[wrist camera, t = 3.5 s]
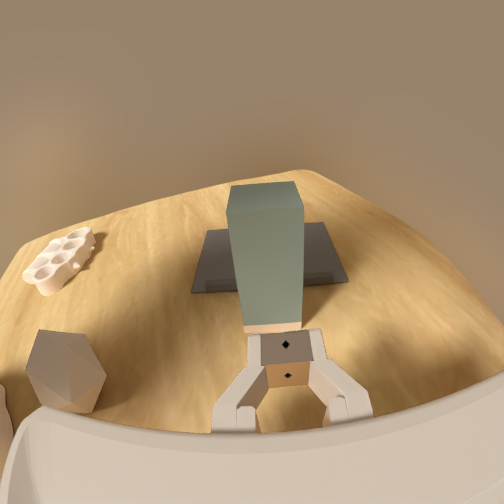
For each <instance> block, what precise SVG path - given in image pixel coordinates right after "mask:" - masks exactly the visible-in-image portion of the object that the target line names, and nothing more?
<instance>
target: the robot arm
mask: <svg viewBox="0 0 504 504" xmlns="http://www.w3.org/2000/svg"><path fill="white" fill-rule="evenodd" d="M298 385H308V386H309V387H310V388H311V389H312V391H313V392H314V393H315V394H316V395H317V396H318V398H319V399H320V400H321V401H322V402H323V403H324V405H325V406H326V407H327V408H326V412H325V415H324V419H323V422H322V428H314V429H306V430H297V431H287V432H274V433H261V429H260V426H259V422H258V418H257V414H256V409H257V408H258V406H259V404H260V403H261V401H262V400H263V398H264V396H265V395H266V393H267V391H268V390H269V389H268V388H277V387H286V386H298ZM0 504H504V370H503V371H501V372H499V373H497V374H495V375H493V376H491V377H489V378H487V379H485V380H483V381H481V382H478V383H476V384H474V385H472V386H469V387H467V388H465V389H462V390H460V391H457V392H455V393H452V394H450V395H447V396H445V397H442V398H439V399H436V400H433V401H431V402H428V403H425V404H422V405H418V406H415V407H412V408H409V409H405V410H402V411H398V412H395V413H391V414H387V415H383V416H379V417H375V418H374V415H373V411H372V407H371V403H370V399H369V395H368V391H367V390H366V389H364V388H363V387H362V386H361V385H360V384H359V383H358V382H356V381H355V380H354V379H353V378H352V377H351V376H350V375H348V374H347V373H346V372H345V371H344V370H343V369H342V368H341V367H339V366H338V365H337V364H336V363H335V362H334V361H333V360H332V359H327V355H326V350H325V346H324V341H323V337H322V332H321V329H320V328H318V329H309V330H299V331H290V332H284V333H269V334H253V335H249V336H248V365H247V367H244V368H243V369H242V370H241V372H240V373H239V374H238V375H237V377H236V378H235V379H234V380H233V382H232V383H231V384H230V386H229V387H228V388H227V389H226V391H225V392H224V393H223V394H222V396H221V397H220V398H219V399H218V400H217V402H216V403H215V404H214V405H213V413H212V424H211V434H210V433H190V432H177V431H166V430H157V429H149V428H142V427H136V426H129V425H124V424H118V423H113V422H108V421H103V420H99V419H94V418H90V417H86V416H82V415H78V414H74V413H71V412H67V411H64V410H61V409H57V408H54V407H51V406H47V405H44V406H41V407H40V408H38V409H37V410H35V411H34V412H33V413H31V414H30V415H29V416H27V417H26V418H25V419H24V420H23V421H22V422H21V424H20V426H19V427H18V429H17V431H16V434H15V436H14V439H13V427H12V422H11V419H10V415H9V413H8V410H7V408H6V404H5V388H4V386H2V385H1V384H0Z"/></svg>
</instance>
